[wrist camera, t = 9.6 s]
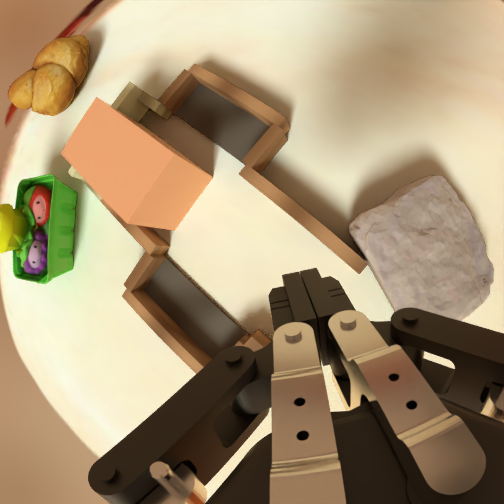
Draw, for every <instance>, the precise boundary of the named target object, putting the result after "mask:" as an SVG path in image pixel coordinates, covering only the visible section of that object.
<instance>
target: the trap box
mask: <svg viewBox="0 0 504 504" xmlns="http://www.w3.org/2000/svg"><path fill="white" fill-rule="evenodd" d="M137 99H138V100H139V101H140V102H142V103H143V104H144V105H146V106H147V107H149V108H150V109H151V110H153V111H154V112H156V113H157V114H158V115H160V116H161V117H163V118H164V119H165V120H167V119H168V118H169V117H170V115H171V114H172V113H174V114H175V115H177V116H178V117H180V118H181V119H183V120H184V121H186V122H187V123H188V124H190V125H191V126H193V127H194V128H195V129H197V130H198V131H200V132H201V133H202V134H204V135H205V136H207V137H208V138H209V139H211V140H212V141H214V142H215V143H216V144H218V145H219V146H220V147H222V148H223V149H224V150H226V151H227V152H228V153H230V154H231V155H232V156H234V157H235V158H236V159H238V160H239V161H240V162H242V163H243V164H244V165H245V167H244V168H243V169H242V170H241V172H240V173H239V175H240V176H242V177H243V178H244V179H245V180H246V181H248V182H249V183H250V184H252V185H253V186H254V187H255V188H257V189H258V190H259V191H260V192H262V193H263V194H264V195H265V196H267V197H268V198H269V199H270V200H272V201H273V202H274V203H275V204H277V205H278V206H279V207H280V208H281V209H283V210H284V211H285V212H286V213H288V214H289V215H290V216H291V217H292V218H294V219H295V220H296V221H297V222H298V223H300V224H301V225H302V226H303V227H305V228H306V229H307V230H308V231H309V232H310V233H312V234H313V235H314V236H315V237H316V238H318V239H319V240H320V241H321V242H322V243H324V244H325V245H326V246H327V247H328V248H329V249H331V250H332V251H333V252H334V253H335V254H336V255H338V256H339V257H340V258H341V259H342V260H343V261H344V262H346V263H347V264H348V265H349V266H350V267H351V268H352V269H354V270H355V271H356V272H357V273H358V274H360V273H361V272H362V271H363V270H364V268H365V267H366V266H367V265H368V263H367V262H366V261H365V260H363V259H362V258H361V257H360V256H359V255H358V254H357V253H355V252H354V251H353V250H352V249H351V248H350V247H348V246H347V245H346V244H345V243H344V242H343V241H341V240H340V239H339V238H338V237H337V236H336V235H334V234H333V233H332V232H331V231H330V230H328V229H327V228H326V227H325V226H324V225H323V224H321V223H320V222H319V221H318V220H316V219H315V218H314V217H313V216H312V215H310V214H309V213H308V212H307V211H306V210H304V209H303V208H302V207H301V206H299V205H298V204H297V203H296V202H294V201H293V200H292V199H291V198H289V197H288V196H287V195H286V194H284V193H283V192H282V191H281V190H279V189H278V188H277V187H276V186H274V185H273V184H272V183H270V182H269V181H268V180H267V179H265V178H264V177H263V176H261V175H260V173H261V172H262V170H263V169H264V168H265V167H266V166H267V164H268V163H269V162H270V161H271V160H272V158H273V157H274V156H275V155H276V154H277V152H278V151H279V150H280V149H281V148H282V146H283V145H284V144H285V143H286V142H287V138H286V135H285V134H286V133H287V132H288V131H289V130H290V127H289V124H288V121H287V119H286V117H285V116H283V115H282V114H280V113H279V112H277V111H275V110H274V109H272V108H271V107H269V106H268V105H266V104H264V103H263V102H261V101H260V100H258V99H256V98H255V97H253V96H251V95H250V94H248V93H246V92H245V91H243V90H241V89H240V88H238V87H236V86H234V85H233V84H231V83H229V82H227V81H226V80H224V79H222V78H220V77H219V76H217V75H215V74H213V73H211V72H209V71H208V70H206V69H204V68H202V67H200V66H198V65H196V64H194V65H193V66H192V67H191V68H190V69H189V70H188V71H187V70H185V69H184V70H183V72H182V73H181V74H180V75H179V76H178V77H177V78H176V80H175V81H174V82H173V83H172V84H171V85H170V87H169V88H168V89H167V90H166V91H165V92H164V94H163V95H162V96H161V97H160V99H159V100H158V101H157V100H156V99H154V98H153V97H151V96H150V95H148V94H147V93H145V92H144V91H143V92H142V93H141V95H140V96H139V97H138V98H137ZM82 181H83V182H84V183H85V184H86V185H87V186H88V188H89V189H90V190H91V191H92V192H93V193H94V194H95V196H96V197H97V198H98V199H99V200H100V201H101V202H102V204H103V205H104V206H105V207H106V208H107V209H108V210H109V211H110V212H111V214H112V215H113V216H114V217H115V218H116V219H117V220H118V221H119V222H120V223H121V225H122V226H123V227H124V228H125V229H126V230H127V231H128V232H129V233H130V234H131V235H132V236H133V237H134V239H135V240H136V241H137V242H138V243H139V244H140V245H141V246H142V247H143V248H144V249H145V250H146V252H145V253H144V255H143V256H142V258H141V259H140V261H139V262H138V264H137V265H136V267H135V268H134V270H133V271H132V273H131V274H130V276H129V277H128V279H127V280H126V282H125V283H124V285H125V287H126V288H127V289H126V291H125V292H124V294H123V295H122V297H123V298H124V299H125V300H126V301H127V303H128V304H129V305H130V306H131V307H132V308H133V309H134V310H135V311H136V313H137V314H138V315H139V316H140V317H141V318H142V319H143V320H144V321H145V322H146V323H147V325H148V326H149V327H150V328H151V329H152V330H153V331H154V332H155V333H156V334H157V335H158V336H159V337H160V338H161V339H162V340H163V341H164V342H165V343H166V344H167V345H168V346H169V347H170V348H171V349H172V350H173V351H174V352H175V353H176V354H177V355H178V356H179V357H180V358H181V359H182V360H183V361H184V362H185V363H186V364H187V365H188V366H189V367H190V368H191V369H192V370H193V371H194V372H195V373H196V374H197V373H198V372H199V371H200V370H201V369H202V368H203V367H205V366H206V365H207V364H208V363H209V362H210V361H211V360H212V359H213V358H214V357H215V356H216V355H217V354H218V353H220V352H221V351H222V350H224V349H226V348H229V347H232V346H245V347H248V348H250V349H252V350H253V352H254V351H257V350H259V349H261V348H263V347H265V346H267V345H268V344H269V343H270V342H271V340H270V339H269V338H268V337H267V336H266V335H265V334H263V333H262V332H261V331H260V330H258V331H257V332H256V333H254V334H253V335H252V336H251V337H250V336H249V335H248V334H247V333H246V332H245V331H244V330H243V329H242V328H240V327H239V326H238V325H237V324H236V323H235V322H234V321H233V320H232V319H231V318H230V317H228V316H227V315H226V314H225V313H224V312H223V311H222V310H221V309H220V308H219V307H218V306H217V305H216V304H214V303H213V302H212V301H211V300H210V299H209V298H208V297H207V296H206V295H205V294H204V293H203V292H202V291H201V290H200V289H199V288H198V287H197V286H196V285H194V284H193V283H192V282H191V281H190V280H189V279H188V278H187V277H186V276H185V275H184V274H183V273H182V272H181V271H180V270H179V269H178V268H177V267H176V266H175V265H174V264H173V263H172V262H171V261H170V260H169V259H168V258H167V257H166V256H165V255H164V254H165V253H166V251H167V250H168V248H169V247H170V246H169V245H168V244H167V243H166V242H165V241H164V240H163V239H162V238H161V237H160V236H159V235H158V234H157V233H156V232H155V231H154V230H153V229H152V228H151V227H146V226H139V225H132V224H127V223H126V222H125V221H124V220H123V219H122V218H121V217H120V216H119V215H118V214H117V213H116V212H115V211H114V210H113V209H112V208H111V207H110V206H109V205H108V204H107V203H106V202H105V201H104V200H103V198H102V197H101V196H100V195H99V194H98V193H97V192H96V191H95V190H94V189H93V188H92V187H91V186H90V185H89V184H88V183H87V182H86V181H85V179H84V178H82Z"/></svg>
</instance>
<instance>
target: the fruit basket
mask: <svg viewBox="0 0 504 504" xmlns="http://www.w3.org/2000/svg"><path fill="white" fill-rule="evenodd" d="M76 201H77V193H76V192H75V191H73V190H72V189H71V188H69V187H68V186H66V185H65V184H63V183H62V182H60V181H59V180H58V179H57V178H56V177H55V176H54V175H53V174H48V175H43V176H39V177H34V178H29V179H23V180H21V181H20V183H19V185H18V190H17V198H16V206H15V209H13V207H12V206H11V205H10V204H2V205H0V253H4V252H6V251H11V250H13V272H14V275H15V277H16V278H18V279H23V280H27V281H32V282H37V283H41V284H46V283H48V282H49V281H51V280H52V279H53V278H55V277H57V276H59V275H61V274H64V273H66V272H68V271H70V270H72V269H73V254H72V251H73V246H74V232H73V230H74V226H75V210H74V209H75V207H76Z"/></svg>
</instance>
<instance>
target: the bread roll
mask: <svg viewBox="0 0 504 504" xmlns="http://www.w3.org/2000/svg"><path fill="white" fill-rule="evenodd" d="M88 56H89V42H88V40H87V39H86V38H85V37H84V36H83V35H74V36H71V37H69V38H59V39H56V40H54V41H52V42H50V43H49V44H47V45H46V46H45V47H44V48H43V49H42V50H41V51H40V52H39V54H38V55H37V56H36V58H35V61H34V64H33V67H32V69H30V70H28V71H27V72H26V73H24V74H23V75H22V76H21V77H19V78H18V79H16V80H15V81H14V82H13V83H12V85H11V86H10V88H9V90H8V98H9V100H10V101H12V103H13V104H14V105H15V106H16V107H18V108H20V109H29V108H31V107H32V111H34V112H37V113H40V114H43V115H51V116H55V115H57V114H59V113H61V112H62V111H64V110H65V109H66V108H67V107H68V106H69V105H70V103H71V101H72V99H73V97H74V94H75V89H76V88H77V87H79V85H80V84H81V82H82V80H83V79H84V77H85V75H86V73H87V71H88Z"/></svg>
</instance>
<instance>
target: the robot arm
mask: <svg viewBox="0 0 504 504" xmlns="http://www.w3.org/2000/svg"><path fill="white" fill-rule="evenodd" d="M282 278H283V284H284V286H283V287H278V288H273V289H272V290H271V292H270V294H269V302H270V308H271V313H272V319H273V325H274V331H275V332H274V335H273V339H272V341H271V342H270V343H269V344H268V345H267V346H265V347H263V348H261V349H259V350H257V351H254V352H253V350H252V349H250V348H248V347H245V346H232V347H229V348H226V349H224V350H222V351H221V352H220V353H218V354H217V355H216V356H215V357H214V358H213V359H212V360H211V361H210V362H209V363H208V364H207V365H206V366H205V367H203V368H202V369H201V370H200V371H199V372H198V373H197V374H196V375H195V376H194V377H193V378H192V379H190V380H189V381H188V382H187V383H186V384H185V385H184V386H183V387H182V388H181V389H180V390H178V391H177V392H176V393H175V394H174V395H173V396H172V397H171V398H170V399H168V400H167V401H166V402H165V403H164V404H163V405H162V406H161V407H159V408H158V409H157V410H156V411H155V412H154V413H153V414H152V415H150V416H149V417H148V418H147V419H146V420H145V421H144V422H142V423H141V424H140V425H139V426H138V427H137V428H135V429H134V430H133V431H132V432H131V433H130V434H128V435H127V436H126V437H125V438H124V439H123V440H121V441H120V442H119V443H118V444H117V445H115V446H114V447H113V448H112V449H111V450H109V451H108V452H107V453H106V454H105V455H103V456H102V457H101V458H100V459H99V460H98V461H96V462H95V463H94V464H93V466H92V467H91V469H90V471H89V475H88V481H89V484H90V486H91V488H92V489H93V490H94V491H95V492H97V493H98V494H99V495H100V496H102V497H103V498H104V499H105V500H107V502H108V503H109V504H504V334H503V333H500V332H496V331H493V330H489V329H486V328H482V327H479V326H476V325H472V324H469V323H465V322H462V321H459V320H455V319H452V318H448V317H445V316H442V315H438V314H435V313H431V312H428V311H425V310H421V309H418V308H412V307H408V308H402V309H399V310H397V311H396V312H394V313H393V315H392V317H391V321H383V322H374V321H369V319H368V318H367V317H366V316H365V315H364V314H363V313H361V312H359V311H356V310H355V308H354V307H353V305H352V303H351V301H350V300H349V298H348V296H347V295H346V293H345V291H344V289H343V288H342V286H341V284H340V283H339V281H338V280H336V279H334V278H333V277H331V276H329V277H325V278H321V276H320V274H319V272H318V270H317V268H313V269H308V270H304V271H300V274H299V272H294V273H290V274H285V275H282ZM424 351H426V352H428V353H431V354H434V355H437V356H440V357H443V358H446V359H448V360H450V361H452V362H453V364H454V365H455V369H452V368H449V367H446V366H444V365H441V364H438V363H435V362H432V361H429V360H427V359H424V358H423V356H424ZM321 361H322V364H323V366H325V365H330V366H331V369H332V379H333V382H334V384H335V387H336V389H337V391H338V393H339V395H340V398H341V400H342V402H343V404H344V407H345V409H346V411H341V412H330V407H329V401H328V396H327V391H326V385H325V380H324V375H323V370H322V367H321ZM271 407H272V433H270V434H268V435H267V436H265V437H264V438H262V439H261V440H260V441H259V442H257V443H256V444H255V445H254V446H253V447H252V448H251V449H250V450H249V452H248V453H247V454H246V455H245V457H244V458H243V459H242V460H241V462H240V463H239V464H238V465H237V467H236V468H235V469H234V470H233V471H232V473H231V474H230V475H229V476H228V478H227V479H226V480H225V481H224V482H223V483H222V485H221V486H220V487H219V488H218V489H217V490H216V492H215V493H214V494H213V495H212V496H211V497H210V498H209V500H208V501H207V502H206V499H207V491H206V488H205V487H204V486H205V485H206V484H207V483H208V482H209V481H210V480H211V479H212V478H213V477H214V476H215V475H216V474H217V473H218V472H219V470H220V469H221V468H222V467H223V466H224V465H225V464H226V463H227V462H228V461H229V459H230V458H231V457H232V456H233V455H234V454H235V453H236V452H237V450H238V449H239V448H240V447H241V446H242V445H243V444H244V442H245V441H246V440H247V439H248V438H249V437H250V435H251V434H252V433H253V432H254V431H255V429H256V428H257V427H258V426H259V425H260V423H261V422H262V421H263V420H264V418H265V417H266V416H267V414H268V412H269V408H271ZM205 502H206V503H205Z"/></svg>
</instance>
